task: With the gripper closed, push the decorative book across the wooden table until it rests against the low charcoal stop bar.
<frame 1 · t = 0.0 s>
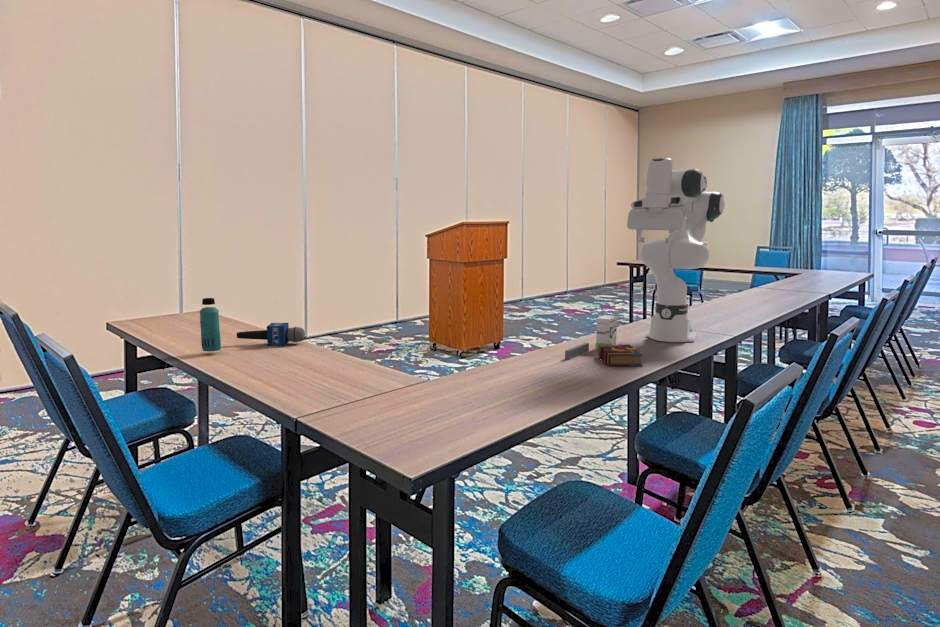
hand: (654, 242, 223), 39 cm above the table, tool pointing down, fingers open, 8 cm apart
ink box: (605, 348, 232), on the table
decorative book: (618, 362, 212), on the table
charcoal stop bar: (577, 355, 221), on the table
microphone: (271, 345, 239), on the table
beverage bottle: (212, 354, 223), on the table
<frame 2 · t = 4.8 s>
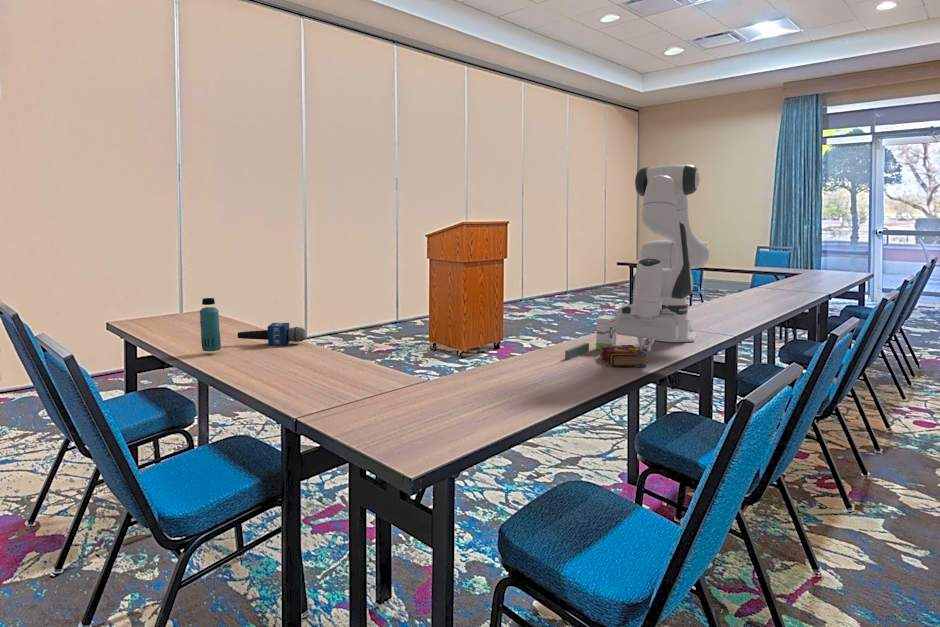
hand: (645, 350, 206), 5 cm above the table, tool pointing down, fingers closed
decorative book: (621, 362, 211), on the table, touching gripper
everything else where it was.
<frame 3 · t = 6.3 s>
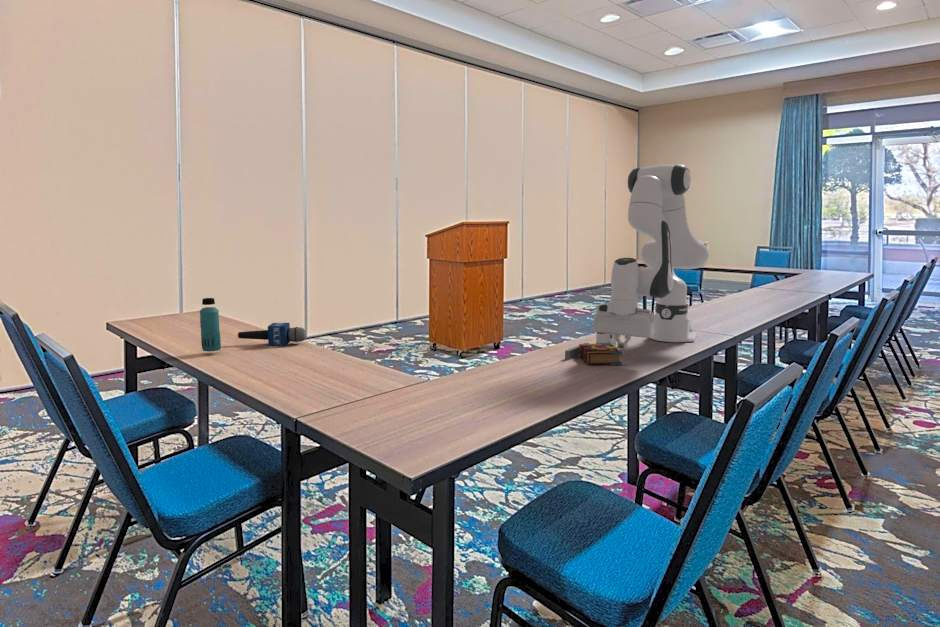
hand: (622, 347, 211), 5 cm above the table, tool pointing down, fingers closed
decorative book: (598, 360, 214), on the table, touching gripper
everything else where it was.
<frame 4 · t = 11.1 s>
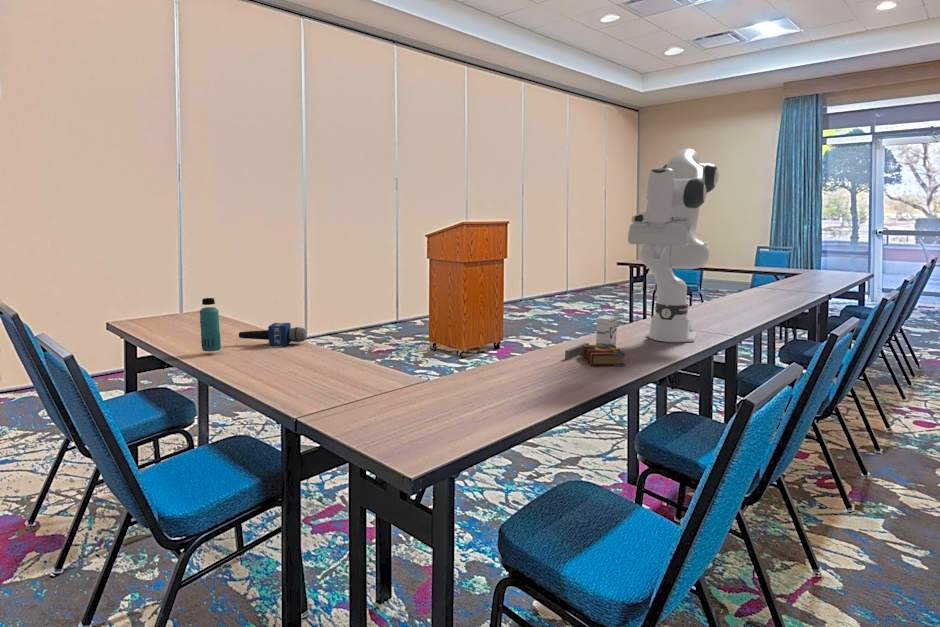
hand: (657, 258, 212), 34 cm above the table, tool pointing down, fingers closed
decorative book: (601, 362, 212), on the table
everything else where it was.
at the end: decorative book 3.3 cm from the target spot on the table beside the charcoal stop bar, on the table; decorative book tilted 0°; decorative book moved 5.5 cm from its start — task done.
